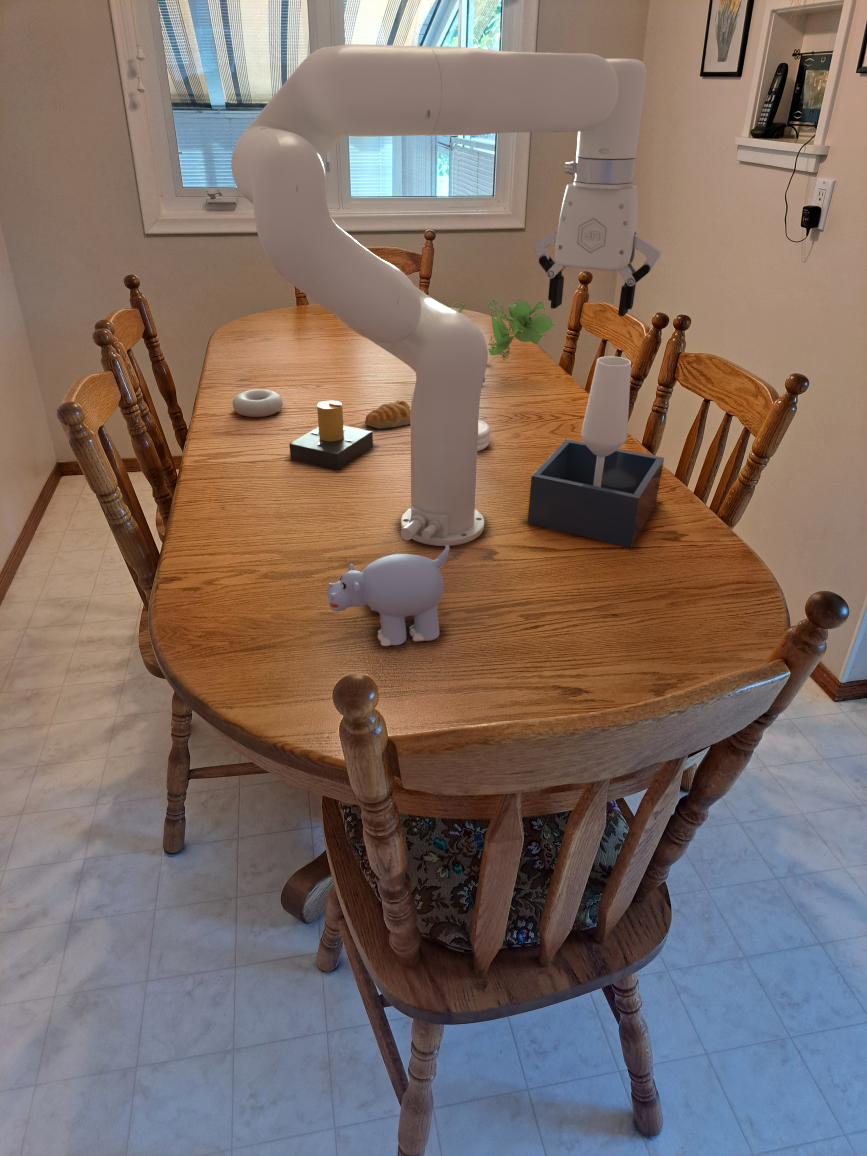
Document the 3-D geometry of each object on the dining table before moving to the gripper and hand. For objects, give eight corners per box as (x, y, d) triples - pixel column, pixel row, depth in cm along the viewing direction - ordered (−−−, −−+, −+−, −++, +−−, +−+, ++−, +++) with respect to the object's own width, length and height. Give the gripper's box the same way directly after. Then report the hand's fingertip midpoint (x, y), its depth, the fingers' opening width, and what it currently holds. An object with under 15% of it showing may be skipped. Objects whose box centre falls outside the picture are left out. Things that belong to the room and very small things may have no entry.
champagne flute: (623, 519, 120) (648, 365, 107) (585, 526, 118) (606, 370, 105) (600, 500, 126) (621, 352, 113) (563, 507, 123) (580, 356, 111)
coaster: (494, 437, 148) (495, 419, 146) (482, 457, 140) (483, 438, 138) (443, 431, 150) (443, 413, 148) (429, 450, 142) (429, 432, 140)
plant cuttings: (389, 410, 179) (411, 376, 158) (376, 339, 180) (396, 295, 159) (528, 396, 189) (566, 362, 167) (515, 328, 190) (551, 286, 168)
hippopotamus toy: (325, 603, 100) (320, 539, 95) (439, 590, 103) (440, 526, 98) (335, 654, 91) (330, 585, 86) (459, 638, 94) (462, 570, 89)
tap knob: (314, 438, 138) (311, 404, 135) (327, 430, 142) (325, 397, 138) (335, 443, 137) (333, 408, 133) (348, 434, 140) (346, 401, 137)
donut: (254, 400, 164) (222, 414, 157) (253, 384, 163) (220, 397, 155) (293, 408, 160) (262, 423, 153) (291, 392, 159) (260, 405, 151)
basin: (630, 547, 113) (639, 498, 109) (527, 523, 119) (531, 475, 114) (655, 503, 125) (664, 457, 121) (560, 483, 131) (565, 439, 127)
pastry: (377, 433, 149) (376, 414, 147) (357, 423, 153) (357, 405, 151) (416, 423, 154) (416, 404, 152) (396, 413, 158) (395, 395, 156)
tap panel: (338, 470, 134) (337, 453, 133) (290, 459, 138) (288, 442, 137) (373, 446, 144) (372, 430, 142) (327, 436, 147) (326, 420, 146)
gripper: (530, 173, 100) (521, 309, 109) (666, 179, 94) (644, 323, 103) (548, 168, 106) (538, 298, 115) (677, 174, 100) (656, 311, 109)
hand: (589, 310), depth 109 cm, fingers open, 9 cm apart
